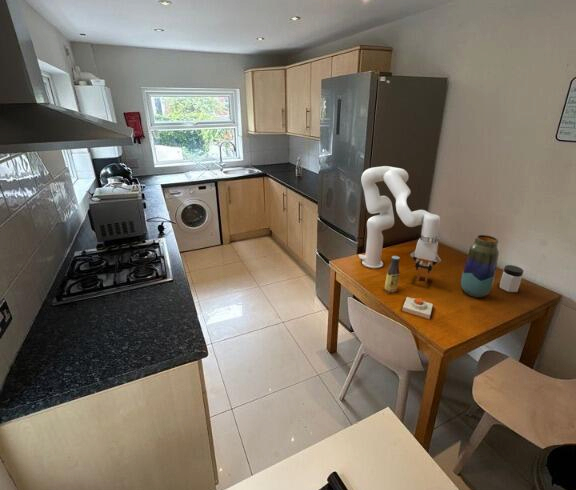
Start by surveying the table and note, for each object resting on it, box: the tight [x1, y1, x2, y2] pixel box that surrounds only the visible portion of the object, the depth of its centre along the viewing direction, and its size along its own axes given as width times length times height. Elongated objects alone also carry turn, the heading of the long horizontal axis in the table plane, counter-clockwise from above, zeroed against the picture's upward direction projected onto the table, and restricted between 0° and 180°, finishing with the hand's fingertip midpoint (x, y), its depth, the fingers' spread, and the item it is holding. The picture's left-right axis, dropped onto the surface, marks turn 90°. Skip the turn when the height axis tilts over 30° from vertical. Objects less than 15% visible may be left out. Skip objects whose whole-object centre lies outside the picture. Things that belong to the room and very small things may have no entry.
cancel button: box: [415, 297, 424, 305], centre depth 143 cm, size 4×4×2 cm
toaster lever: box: [418, 262, 429, 270], centre depth 161 cm, size 11×5×2 cm, turn 149°
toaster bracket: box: [416, 260, 430, 284], centre depth 166 cm, size 10×8×12 cm
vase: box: [460, 234, 500, 298], centre depth 153 cm, size 14×14×31 cm
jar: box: [499, 264, 524, 293], centre depth 160 cm, size 9×8×12 cm
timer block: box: [402, 296, 434, 320], centre depth 144 cm, size 12×10×4 cm
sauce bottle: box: [384, 255, 401, 295], centre depth 156 cm, size 7×6×20 cm
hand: (422, 269), depth 158 cm, fingers closed on toaster lever, 5 cm apart
